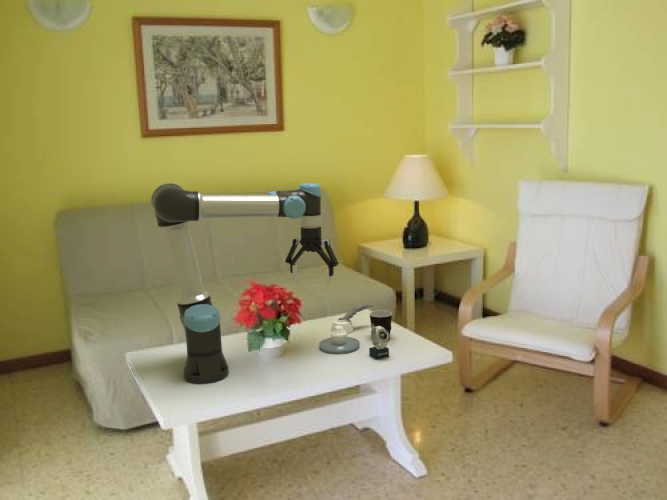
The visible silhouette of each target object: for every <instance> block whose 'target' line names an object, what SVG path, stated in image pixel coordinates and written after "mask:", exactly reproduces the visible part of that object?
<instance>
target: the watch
mask: <svg viewBox="0 0 667 500" xmlns="http://www.w3.org/2000/svg"><path fill="white" fill-rule="evenodd" d="M389 335H390V336H391V333H390V334H389V333H388V332H387V330H385V329H384V328H383V327H381V326H377V327H373V328H371V331H370V340H371V342H372V345H373V347H369V350H368V352H369V354H368V355H369V357H370V358H372V359H373V360H375V361H377V360H382V359H385V358H390V348H389V347H387V345H388V344H389V340H390V339H389Z"/></svg>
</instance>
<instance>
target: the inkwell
mask: <svg viewBox="0 0 667 500" xmlns="http://www.w3.org/2000/svg"><path fill="white" fill-rule="evenodd" d="M367 308H368V309H369V308H374V306H373V305H372V304H368V303H364V304H363V303H360V304H358V305H356V306H354V307H353V308H352V309H350V310H349V311H347V312H346V313H345V315H344V316H339V317H337V318H335V319H334V320H333V322H332V324H331V328H330V331H331V332H332V331H333V330H334V327H335V326H338V325H339V326H342V327H343V329H344V330H345V331H346V332H347V335H348V334H351V333H353V332H354V331H355V329H354V325H353V322H352V320H351V319H352V318H353V317H354V316H355V315H357V313H359V312H361V311H363V310H365V309H367Z"/></svg>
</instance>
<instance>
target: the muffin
mask: <svg viewBox="0 0 667 500" xmlns="http://www.w3.org/2000/svg"><path fill="white" fill-rule="evenodd" d="M346 337H348V334H347V332H346V331H345V330H344V329H343V327H342V326H339V325H338V326H335V327H334V330H333V331H332V332H331V333H330V338H332V339H333V341H334V343H335V344H337V345H340V344H343V343H344V341H345V339H346Z"/></svg>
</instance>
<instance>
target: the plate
mask: <svg viewBox="0 0 667 500" xmlns="http://www.w3.org/2000/svg"><path fill="white" fill-rule="evenodd" d="M318 345H319V346H318V348H319V350H320V351H321V352H323V353H325V354H330V355H345V354H350V353H354V352H357V351H358V350H359V349H360V348H361V346H360V340H358V339H357V338H355V337H351V336H346V339H345V341H344V343H343V344H340V345H337V344H335V343H334V341H333V339H332V338H331V337H328V338H324V339H321V341H320V342H319V344H318Z"/></svg>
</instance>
